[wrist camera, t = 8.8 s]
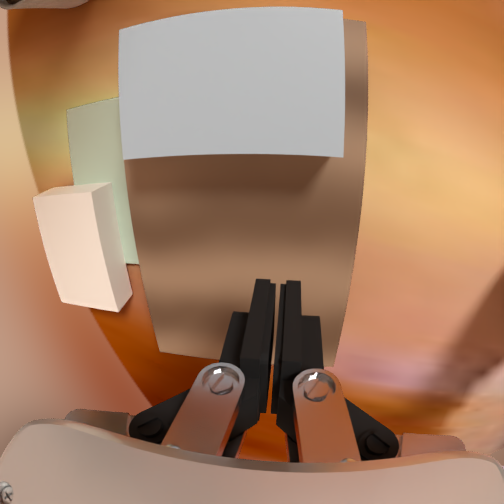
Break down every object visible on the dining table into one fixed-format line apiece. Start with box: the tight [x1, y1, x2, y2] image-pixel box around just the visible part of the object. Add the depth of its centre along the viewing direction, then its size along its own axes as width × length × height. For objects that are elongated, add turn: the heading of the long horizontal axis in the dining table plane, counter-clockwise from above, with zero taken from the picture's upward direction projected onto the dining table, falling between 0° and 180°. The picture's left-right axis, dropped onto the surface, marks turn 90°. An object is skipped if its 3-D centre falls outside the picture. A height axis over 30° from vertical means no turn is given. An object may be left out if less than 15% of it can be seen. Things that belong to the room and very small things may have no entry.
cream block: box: [33, 182, 133, 312], centre depth 20 cm, size 9×6×2 cm, turn 1°
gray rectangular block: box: [118, 7, 345, 160], centre depth 11 cm, size 9×6×2 cm, turn 91°
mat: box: [67, 97, 139, 264], centre depth 19 cm, size 12×7×1 cm, turn 1°
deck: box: [124, 19, 368, 367], centre depth 17 cm, size 20×12×4 cm, turn 1°
